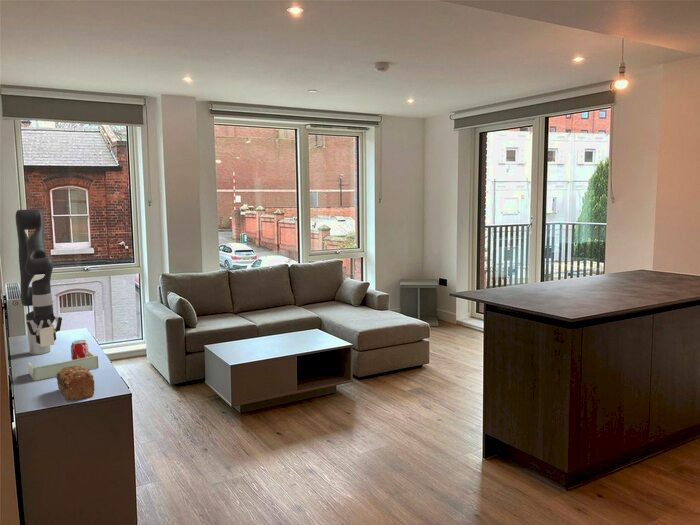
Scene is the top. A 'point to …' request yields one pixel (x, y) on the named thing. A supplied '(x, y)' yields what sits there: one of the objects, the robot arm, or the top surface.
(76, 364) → the u-shaped bracket
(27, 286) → the robot arm
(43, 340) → the cream rectangular block
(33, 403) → the top surface
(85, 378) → the bread
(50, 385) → the top surface
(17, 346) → the top surface
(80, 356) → the soda can
